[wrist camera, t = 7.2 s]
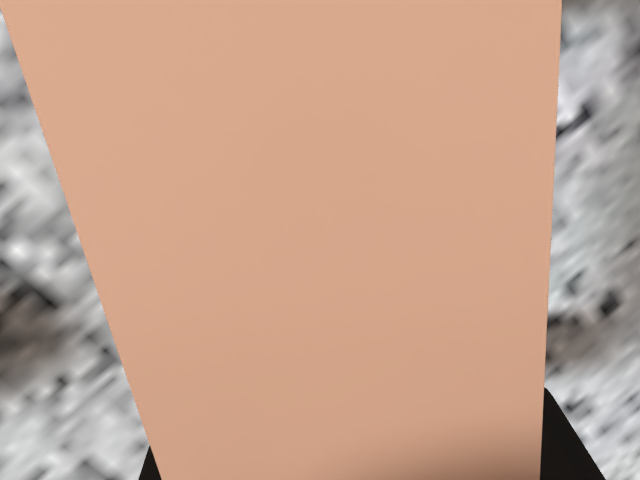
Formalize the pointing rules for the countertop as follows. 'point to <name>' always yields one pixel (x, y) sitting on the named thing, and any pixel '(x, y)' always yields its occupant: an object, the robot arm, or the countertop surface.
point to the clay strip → (313, 224)
